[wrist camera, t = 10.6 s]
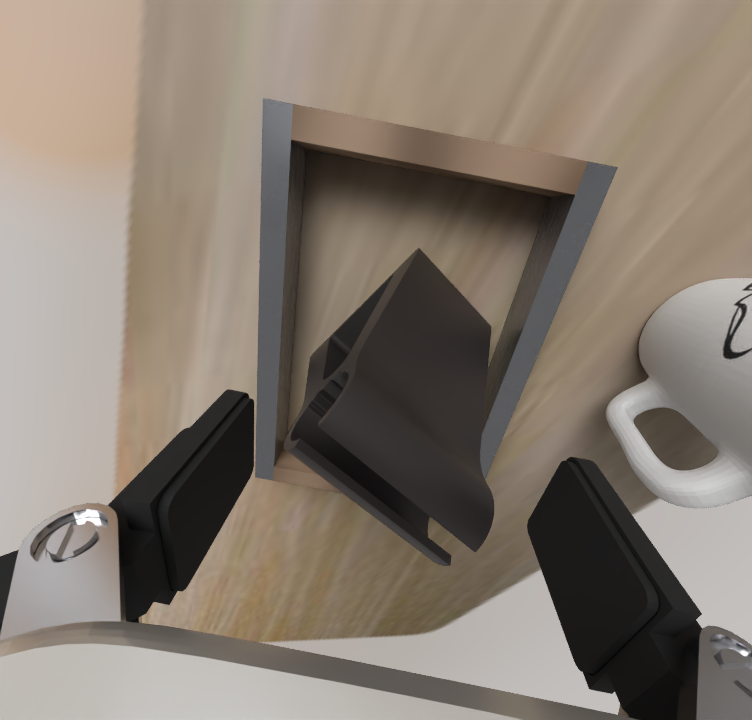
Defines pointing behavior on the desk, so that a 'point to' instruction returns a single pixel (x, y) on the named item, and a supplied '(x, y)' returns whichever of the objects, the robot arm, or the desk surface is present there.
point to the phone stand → (404, 409)
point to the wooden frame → (432, 155)
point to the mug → (695, 391)
